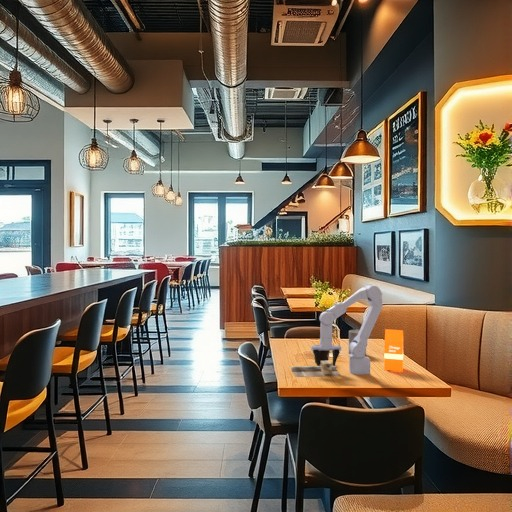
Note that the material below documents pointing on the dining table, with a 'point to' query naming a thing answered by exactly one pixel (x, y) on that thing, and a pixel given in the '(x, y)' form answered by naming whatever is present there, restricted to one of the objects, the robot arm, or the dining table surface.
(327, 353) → the coffee mug
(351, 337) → the grey tall block
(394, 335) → the orange juice
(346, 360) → the dining table surface
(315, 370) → the marking board
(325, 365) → the block
